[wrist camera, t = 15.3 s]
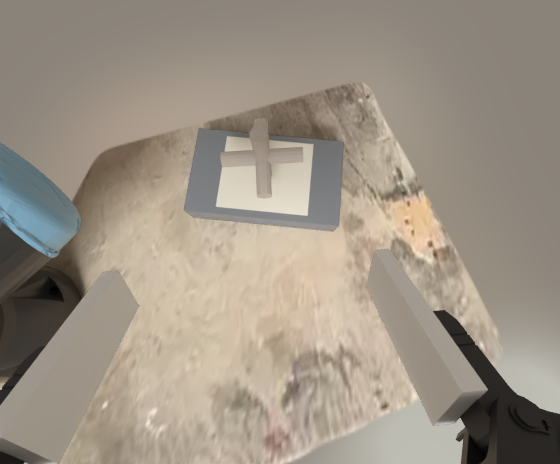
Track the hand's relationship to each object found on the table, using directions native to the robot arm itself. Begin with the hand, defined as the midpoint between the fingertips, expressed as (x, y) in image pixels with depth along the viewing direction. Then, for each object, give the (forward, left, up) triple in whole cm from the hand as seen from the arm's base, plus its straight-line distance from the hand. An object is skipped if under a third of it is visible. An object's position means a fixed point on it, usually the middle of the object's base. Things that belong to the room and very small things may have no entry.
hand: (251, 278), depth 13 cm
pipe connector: (-2, +15, -20) cm, 24 cm away
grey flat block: (-2, +15, -24) cm, 28 cm away
